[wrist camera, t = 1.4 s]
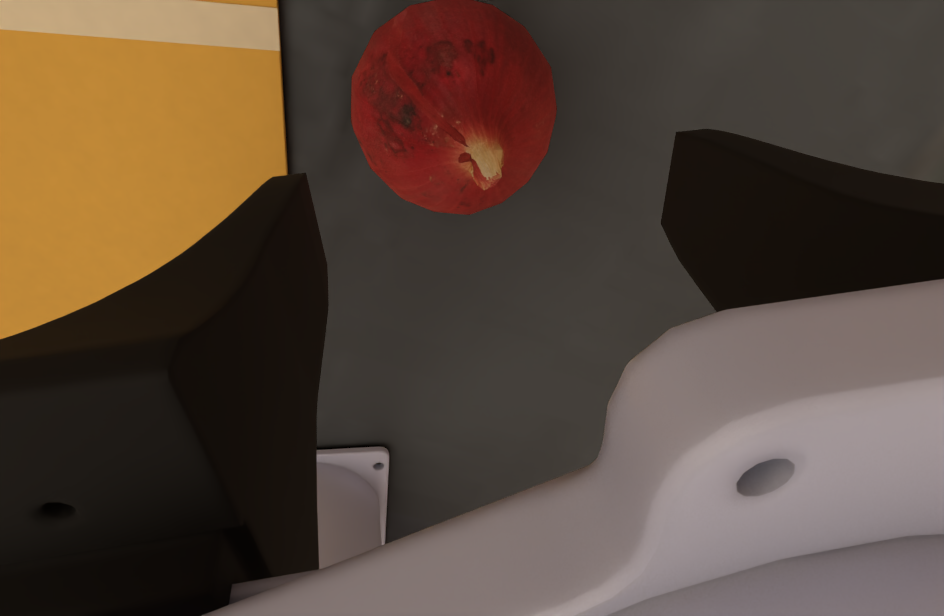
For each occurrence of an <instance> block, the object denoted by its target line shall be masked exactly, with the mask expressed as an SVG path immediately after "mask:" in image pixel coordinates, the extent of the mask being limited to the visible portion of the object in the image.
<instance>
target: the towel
mask: <svg viewBox="0 0 944 616" xmlns="http://www.w3.org/2000/svg"><path fill="white" fill-rule="evenodd" d="M284 175H288V166H287V148H286V130H285V112H284V94H283V77H282V59H281V41H280V23H279V5H278V0H0V339H3V338H6V337H9V336H12V335H15V334H18V333H21V332H23V331H26V330H29V329H32V328H34V327H37V326H40V325H42V324H45V323H47V322H50V321H52V320H55V319H57V318H60V317H62V316H65V315H67V314H70V313H72V312H74V311H76V310H79V309H81V308H83V307H86V306H88V305H90V304H92V303H95V302H97V301H99V300H101V299H103V298H105V297H106V296H108V295H110V294H112V293H114V292H116V291H118V290H120V289H122V288H124V287H126V286H128V285H130V284H132V283H134V282H136V281H138V280H139V279H141V278H143V277H145V276H147V275H148V274H150V273H152V272H153V271H155V270H156V269H158V268H160V267H161V266H163V265H164V264H166V263H168V262H169V261H171V260H172V259H174V258H175V257H177V256H178V255H180V254H181V253H183V252H184V251H185V250H187V249H188V248H189V247H191V246H192V245H193V244H195V243H196V242H197V241H198V240H200V239H201V238H202V237H203V236H205V235H206V234H207V233H208V232H210V231H211V230H212V229H213V228H214V227H216V226H217V225H218V224H219V223H221V222H222V221H223V220H224V219H225V218H227V217H228V216H229V215H230V214H231V213H232V212H233V211H234V210H235V209H236V208H237V207H239V206H240V205H241V204H242V203H243V202H244V201H245V200H246V199H247V198H248V197H249V196H250V195H252V194H253V193H254V192H255V191H256V190H257V189H258V188H259V187H260V186H261V185H262V184H264V183H265V182H266V181H267V180H268V179H270V178H271V177H275V176H284Z"/></svg>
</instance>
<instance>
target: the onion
mask: <svg viewBox="0 0 944 616" xmlns="http://www.w3.org/2000/svg"><path fill="white" fill-rule="evenodd" d="M556 111H557V106H556V99H555V92H554V85H553V79H552V72H551V66H550V65H549V63H548V62H547V60H546V59H545V57H544V56H543V54H542V52H541V51H540V49H539V48H538V46H537V45H536V43H535V42H534V40H533V38H532V37H531V35H530V34H529V32H528V31H527V30H526V28H525V27H524V26H523V25H521V24H520V23H518V22H517V21H515V20H514V19H512V18H511V17H509V16H508V15H507V14H505V13H504V12H502V11H501V10H499V9H498V8H496V7H495V6H493V5H490V4H486V3H482V2H478V1H473V0H434V1H429V2H424V3H419V4H414V5H410V6H408V7H407V8H406V9H404V10H403V11H402V12H400V13H399V14H398V15H396V16H395V17H393V18H392V19H391V20H389V21H388V22H387V23H385V24H384V25H382V26H381V27H380V28H378V29H377V30H376V31H375V32H374V33H373V35H372V37H371V39H370V41H369V43H368V45H367V47H366V49H365V51H364V53H363V55H362V57H361V59H360V61H359V63H358V66H357V68H356V70H355V72H354V74H353V76H352V89H351V123H352V126H353V129H354V132H355V134H356V137H357V139H358V141H359V143H360V146H361V148H362V150H363V152H364V155H365V157H366V159H367V161H368V164H369V166H370V168H371V169H372V170H373V171H374V172H375V173H376V174H377V175H378V176H379V177H380V178H381V179H382V180H383V181H384V182H385V183H386V184H387V185H388V186H389V187H390V188H391V189H392V190H393V191H394V192H395V193H396V194H397V195H398V196H400V197H401V198H402V199H404V200H406V201H409V202H411V203H414V204H416V205H419V206H421V207H424V208H426V209H429V210H431V211H434V212H443V213H454V214H466V215H470V214H473V213H475V212H478V211H481V210H484V209H486V208H489V207H492V206H495V205H497V204H500V203H502V202H503V201H505V200H506V199H507V198H508V197H510V196H511V195H512V194H513V193H515V192H516V191H517V190H518V189H520V188H521V187H522V186H523V185H525V184H526V183H527V182H528V181H529V180H530V178H531V176H532V175H533V173H534V172H535V170H536V169H537V167H538V166H539V164H540V163H541V161H542V160H543V158H544V157H545V155H546V153H547V151H548V147H549V143H550V138H551V134H552V130H553V126H554V122H555V117H556Z"/></svg>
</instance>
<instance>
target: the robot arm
mask: <svg viewBox="0 0 944 616" xmlns="http://www.w3.org/2000/svg"><path fill="white" fill-rule="evenodd" d="M661 225H662V227H663V229H664V231H665V233H666V235H667V238H668V240H669V242H670V244H671V246H672V248H673V250H674V252H675V253H676V255H677V257H678V259H679V261H680V262H681V264H682V265H683V266H684V268H685V269H686V271H687V272H688V273H689V275H690V276H691V278H692V279H693V280H694V282H695V283H696V285H697V286H698V287H699V289H700V290H701V291H702V293H703V294H704V295H705V297H706V298H707V299H708V301H709V302H710V303H711V305H712V306H713V307H714V309H715V310H716V311H717V312H716V313H713V314H710V315H707V316H705V317H702V318H699V319H696V320H693V321H690V322H687V323H684V324H681V325H678V326H675V327H672V328H670V329H669V330H667V331H666V332H665V333H664V334H662V335H661V336H660V337H659V338H658V339H656V340H655V341H654V342H653V343H651V344H650V345H649V346H648V347H646V348H645V349H644V350H643V351H641V352H640V353H639V354H638V355H637V356H635V357H634V358H633V359H632V360H631V361H630V362H629V363H628V364H627V365H626V367H625V369H624V371H623V373H622V375H621V378H620V380H619V382H618V384H617V386H616V388H615V390H614V392H613V394H612V396H611V398H610V400H609V402H608V406H607V414H606V421H605V429H604V436H603V443H602V446H601V449H600V452H599V455H598V457H597V459H596V460H595V461H594V462H592V463H591V464H590V465H588V466H585V467H583V468H580V469H578V470H575V471H572V472H570V473H567V474H565V475H562V476H560V477H557V478H554V479H552V480H549V481H547V482H544V483H542V484H539V485H536V486H534V487H531V488H529V489H526V490H524V491H521V492H518V493H516V494H513V495H511V496H508V497H506V498H503V499H500V500H498V501H495V502H493V503H490V504H487V505H485V506H482V507H480V508H477V509H475V510H472V511H469V512H467V513H464V514H462V515H459V516H457V517H454V518H451V519H449V520H446V521H444V522H441V523H439V524H436V525H433V526H431V527H428V528H426V529H423V530H420V531H418V532H415V533H413V534H410V535H408V536H405V537H402V538H400V539H397V540H395V541H392V542H390V543H387V544H385V532H386V513H387V493H388V474H389V452H388V450H387V449H386V448H384V447H379V446H378V447H361V448H343V449H325V450H317V401H318V390H319V382H320V373H321V365H322V357H323V349H324V341H325V332H326V324H327V315H328V273H327V262H326V258H325V253H324V249H323V245H322V240H321V236H320V232H319V228H318V223H317V219H316V215H315V210H314V206H313V202H312V198H311V193H310V189H309V185H308V180H307V176H306V173H302V174H293V175H284V176H275V177H271V178H270V179H268V180H267V181H266V182H265V183H264V184H262V185H261V186H260V187H259V188H258V189H257V190H256V191H255V192H254V193H253V194H252V195H250V196H249V197H248V198H247V199H246V200H245V201H244V202H243V203H242V204H241V205H240V206H239V207H237V208H236V209H235V210H234V211H233V212H232V213H231V214H230V215H229V216H228V217H227V218H225V219H224V220H223V221H222V222H221V223H219V224H218V225H217V226H216V227H214V228H213V229H212V230H211V231H210V232H208V233H207V234H206V235H205V236H203V237H202V238H201V239H200V240H198V241H197V242H196V243H195V244H193V245H192V246H191V247H189V248H188V249H187V250H185V251H184V252H183V253H181V254H180V255H178V256H177V257H175V258H174V259H172V260H171V261H169V262H168V263H166V264H164V265H163V266H161V267H160V268H158V269H156V270H155V271H153V272H152V273H150V274H148V275H147V276H145V277H143V278H141V279H139V280H138V281H136V282H134V283H132V284H130V285H128V286H126V287H124V288H122V289H120V290H118V291H116V292H114V293H112V294H110V295H108V296H106V297H105V298H103V299H101V300H99V301H97V302H95V303H92V304H90V305H88V306H86V307H83V308H81V309H79V310H76V311H74V312H72V313H70V314H67V315H65V316H62V317H60V318H57V319H55V320H52V321H50V322H47V323H45V324H42V325H40V326H37V327H34V328H32V329H29V330H26V331H23V332H21V333H18V334H15V335H12V336H9V337H6V338H3V339H0V616H944V184H941V183H934V182H927V181H921V180H915V179H910V178H904V177H899V176H893V175H888V174H882V173H878V172H873V171H868V170H864V169H859V168H855V167H851V166H848V165H844V164H840V163H836V162H832V161H828V160H824V159H820V158H817V157H813V156H810V155H806V154H803V153H799V152H796V151H792V150H789V149H786V148H782V147H779V146H776V145H772V144H769V143H765V142H762V141H759V140H755V139H752V138H748V137H745V136H741V135H737V134H733V133H729V132H724V131H719V130H712V129H700V130H691V131H682V132H676V136H675V142H674V148H673V154H672V160H671V166H670V171H669V177H668V183H667V189H666V195H665V201H664V207H663V213H662V219H661ZM376 463H381V464H376Z"/></svg>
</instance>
